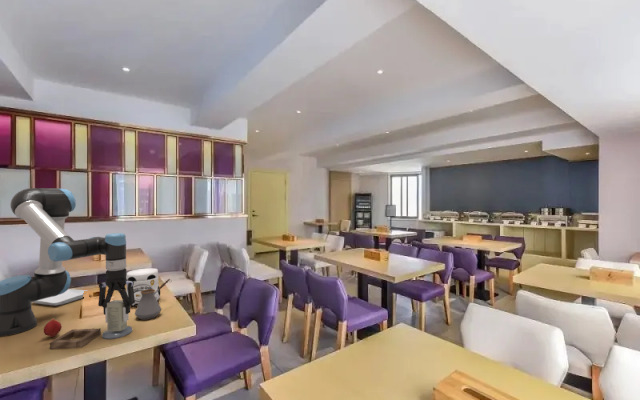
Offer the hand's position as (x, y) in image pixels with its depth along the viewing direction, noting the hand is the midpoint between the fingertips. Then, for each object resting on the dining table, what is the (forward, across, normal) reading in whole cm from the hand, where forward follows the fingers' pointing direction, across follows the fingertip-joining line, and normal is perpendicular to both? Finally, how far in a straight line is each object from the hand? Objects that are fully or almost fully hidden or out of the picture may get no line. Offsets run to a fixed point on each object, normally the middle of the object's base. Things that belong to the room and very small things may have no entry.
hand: (117, 321), depth 134 cm
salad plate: (+6, -58, +49) cm, 76 cm away
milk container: (+6, -8, +39) cm, 40 cm away
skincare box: (+4, 0, 0) cm, 4 cm away
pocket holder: (+5, -13, -6) cm, 15 cm away
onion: (+6, -26, -1) cm, 27 cm away
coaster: (+5, 0, 0) cm, 5 cm away
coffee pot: (+6, +6, +23) cm, 24 cm away
